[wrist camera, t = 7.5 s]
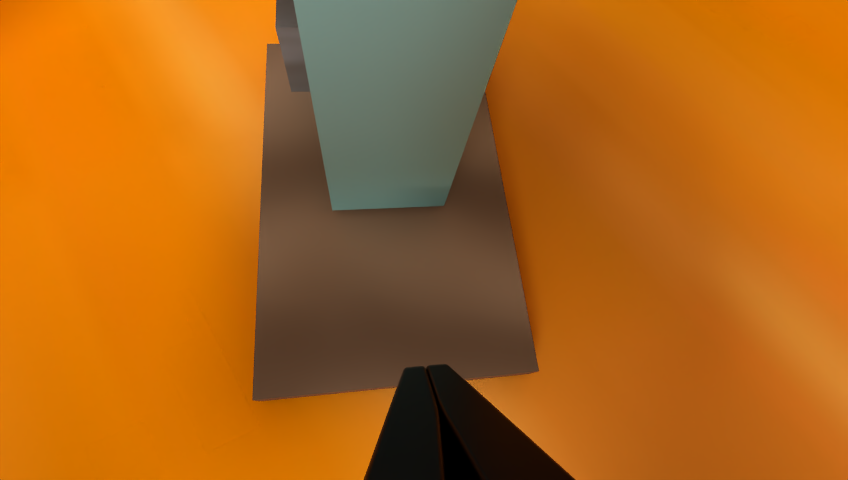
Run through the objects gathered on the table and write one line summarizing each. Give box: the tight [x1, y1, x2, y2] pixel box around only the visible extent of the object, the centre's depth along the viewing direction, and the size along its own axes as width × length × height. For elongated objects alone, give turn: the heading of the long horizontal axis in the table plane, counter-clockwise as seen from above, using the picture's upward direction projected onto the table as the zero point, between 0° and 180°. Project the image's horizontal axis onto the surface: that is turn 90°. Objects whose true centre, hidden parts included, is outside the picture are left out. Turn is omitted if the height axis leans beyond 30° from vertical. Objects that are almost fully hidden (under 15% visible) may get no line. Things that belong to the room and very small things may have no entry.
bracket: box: [253, 0, 539, 401], centre depth 15 cm, size 14×9×4 cm, turn 6°
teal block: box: [293, 0, 517, 210], centre depth 13 cm, size 9×4×9 cm, turn 6°
